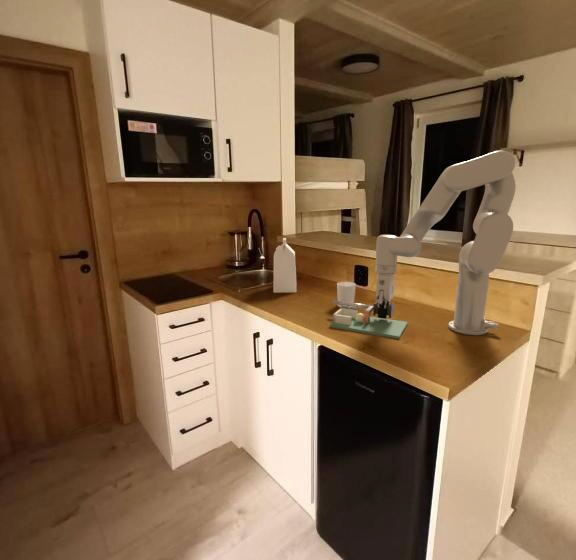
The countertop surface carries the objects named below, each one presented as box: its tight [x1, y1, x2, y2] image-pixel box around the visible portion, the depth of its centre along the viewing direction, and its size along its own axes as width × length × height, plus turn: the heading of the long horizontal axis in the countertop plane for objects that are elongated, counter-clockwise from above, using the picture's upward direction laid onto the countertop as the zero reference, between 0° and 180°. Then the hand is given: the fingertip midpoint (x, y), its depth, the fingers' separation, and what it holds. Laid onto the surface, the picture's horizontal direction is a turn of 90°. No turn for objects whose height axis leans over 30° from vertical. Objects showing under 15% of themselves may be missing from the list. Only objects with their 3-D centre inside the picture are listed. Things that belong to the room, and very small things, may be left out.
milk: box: [272, 237, 298, 294], centre depth 181 cm, size 12×12×26 cm
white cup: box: [336, 281, 357, 309], centre depth 155 cm, size 8×8×10 cm
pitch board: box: [329, 305, 409, 340], centre depth 133 cm, size 25×15×4 cm, turn 62°
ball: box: [355, 312, 365, 323], centre depth 134 cm, size 4×4×4 cm
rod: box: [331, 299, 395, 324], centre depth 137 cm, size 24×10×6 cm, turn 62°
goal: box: [332, 307, 359, 325], centre depth 136 cm, size 7×9×3 cm
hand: (383, 315), depth 136 cm, fingers closed on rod, 3 cm apart
